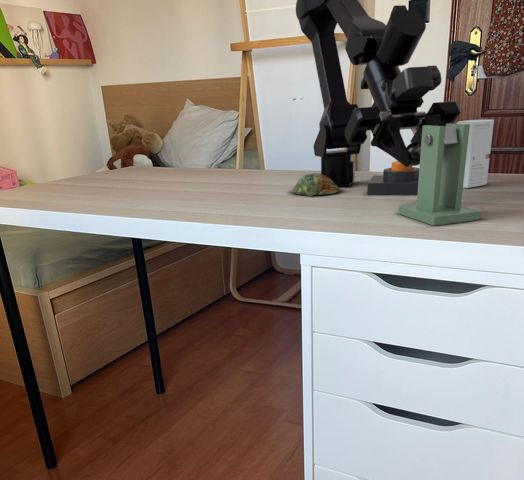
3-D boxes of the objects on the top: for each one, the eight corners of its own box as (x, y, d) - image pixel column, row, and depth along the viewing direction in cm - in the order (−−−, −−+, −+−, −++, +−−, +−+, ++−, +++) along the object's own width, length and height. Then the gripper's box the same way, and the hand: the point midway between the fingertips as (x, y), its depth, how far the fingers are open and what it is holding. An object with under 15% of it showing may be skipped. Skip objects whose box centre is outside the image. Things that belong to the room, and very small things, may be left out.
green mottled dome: (343, 167, 109) (331, 174, 101) (344, 187, 111) (333, 196, 102) (296, 171, 113) (282, 178, 104) (298, 191, 114) (284, 200, 106)
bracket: (398, 213, 86) (403, 125, 80) (440, 208, 88) (448, 122, 82) (433, 225, 77) (442, 128, 72) (479, 219, 79) (492, 124, 74)
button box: (367, 194, 103) (368, 173, 101) (372, 186, 111) (373, 166, 109) (431, 194, 99) (433, 172, 98) (432, 185, 108) (433, 165, 106)
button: (390, 173, 102) (391, 163, 102) (391, 170, 106) (392, 161, 105) (411, 172, 101) (412, 163, 101) (412, 169, 105) (413, 160, 104)
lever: (401, 169, 87) (398, 146, 86) (420, 167, 88) (417, 145, 87) (441, 148, 76) (438, 123, 76) (462, 146, 77) (459, 121, 77)
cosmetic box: (468, 188, 103) (475, 121, 97) (449, 186, 106) (455, 121, 101) (488, 184, 106) (496, 119, 100) (469, 182, 109) (476, 118, 104)
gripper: (354, 49, 80) (387, 132, 75) (460, 45, 84) (497, 123, 80) (332, 106, 90) (360, 181, 85) (427, 99, 95) (458, 171, 90)
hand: (419, 164), depth 85 cm, fingers closed on lever, 3 cm apart
